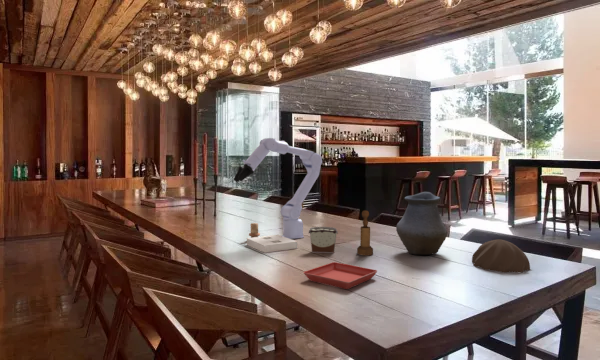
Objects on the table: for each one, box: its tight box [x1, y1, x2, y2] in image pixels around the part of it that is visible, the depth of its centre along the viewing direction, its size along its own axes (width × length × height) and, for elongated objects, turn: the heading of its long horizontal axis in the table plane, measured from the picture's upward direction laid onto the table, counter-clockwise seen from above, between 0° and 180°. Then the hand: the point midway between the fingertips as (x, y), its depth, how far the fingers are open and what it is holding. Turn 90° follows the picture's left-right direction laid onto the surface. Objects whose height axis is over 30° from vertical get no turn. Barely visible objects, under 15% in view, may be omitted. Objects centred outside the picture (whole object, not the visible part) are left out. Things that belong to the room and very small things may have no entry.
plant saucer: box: [303, 261, 378, 290], centre depth 141 cm, size 18×18×3 cm
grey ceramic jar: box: [395, 191, 448, 256], centre depth 178 cm, size 21×22×25 cm
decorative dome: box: [471, 238, 531, 274], centre depth 158 cm, size 19×20×10 cm
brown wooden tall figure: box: [356, 209, 374, 256], centre depth 176 cm, size 7×6×18 cm
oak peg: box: [248, 222, 261, 238], centre depth 204 cm, size 5×5×8 cm
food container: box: [308, 226, 339, 254], centre depth 182 cm, size 12×6×10 cm, turn 84°
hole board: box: [246, 234, 298, 253], centre depth 191 cm, size 16×18×3 cm
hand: (237, 180), depth 195 cm, fingers open, 7 cm apart
